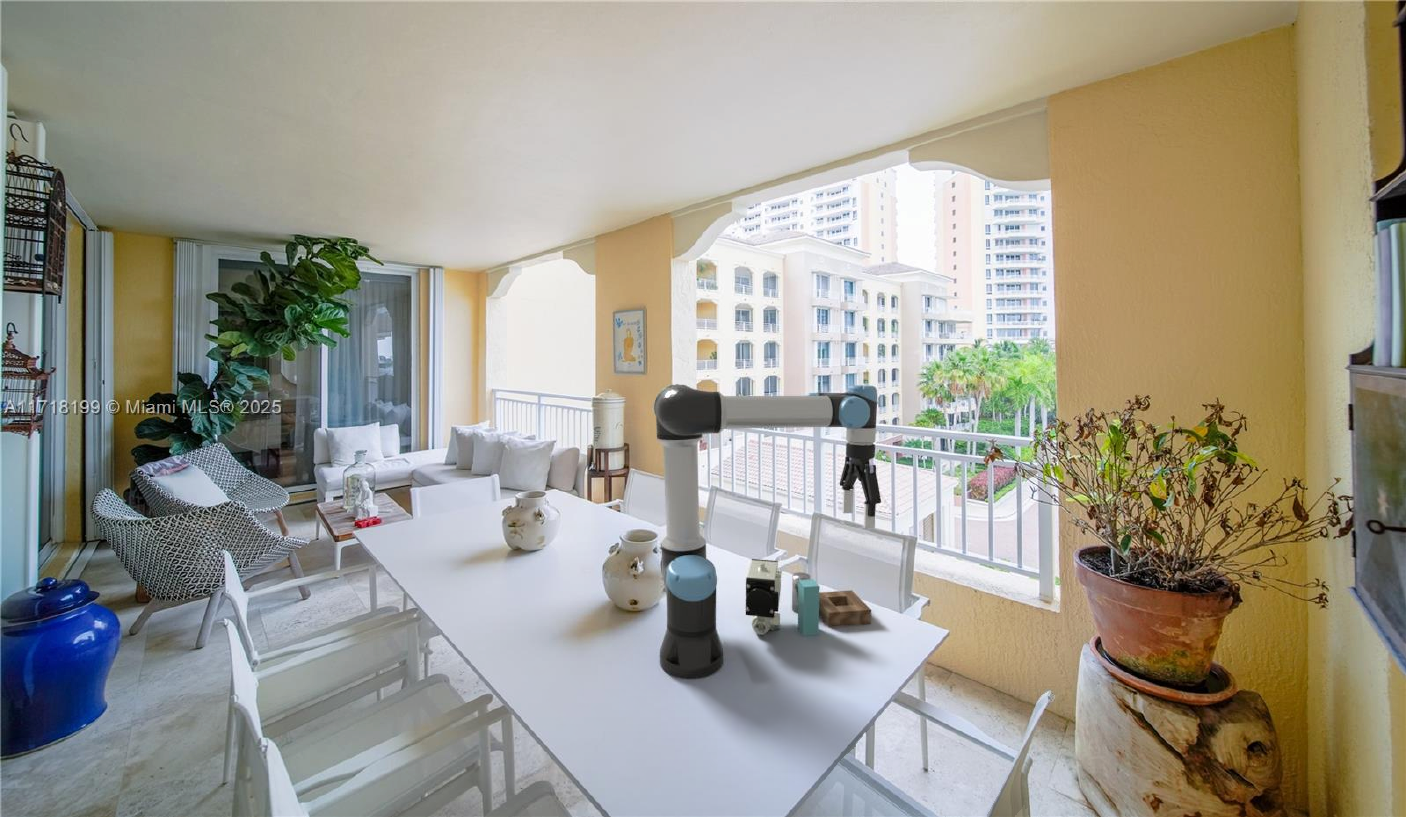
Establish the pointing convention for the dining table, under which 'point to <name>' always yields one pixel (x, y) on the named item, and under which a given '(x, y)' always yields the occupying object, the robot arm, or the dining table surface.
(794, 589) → the round bit
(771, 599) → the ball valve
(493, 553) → the dining table surface
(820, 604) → the bore block
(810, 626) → the square bit
